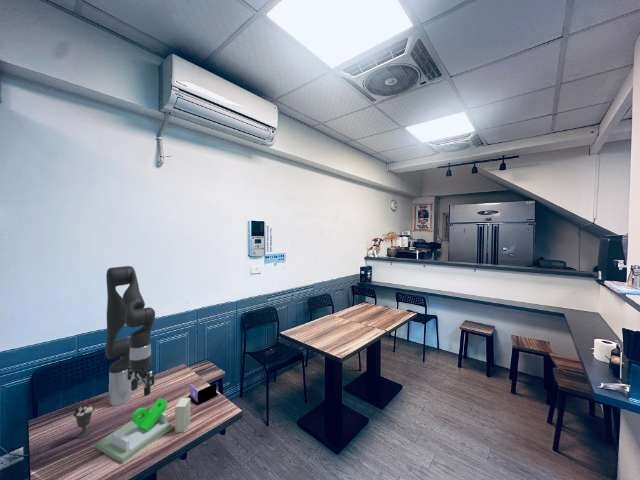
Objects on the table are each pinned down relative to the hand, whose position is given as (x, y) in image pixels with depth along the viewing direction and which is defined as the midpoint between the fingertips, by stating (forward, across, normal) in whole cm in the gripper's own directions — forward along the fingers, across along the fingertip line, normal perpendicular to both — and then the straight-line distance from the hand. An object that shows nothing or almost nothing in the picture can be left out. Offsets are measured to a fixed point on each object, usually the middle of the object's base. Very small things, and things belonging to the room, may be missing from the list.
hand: (140, 392), depth 111 cm
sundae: (+20, -24, -9) cm, 32 cm away
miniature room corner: (+20, +2, +32) cm, 38 cm away
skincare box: (+20, +12, +11) cm, 26 cm away
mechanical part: (+14, 0, +6) cm, 16 cm away
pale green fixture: (+20, -2, -1) cm, 20 cm away
